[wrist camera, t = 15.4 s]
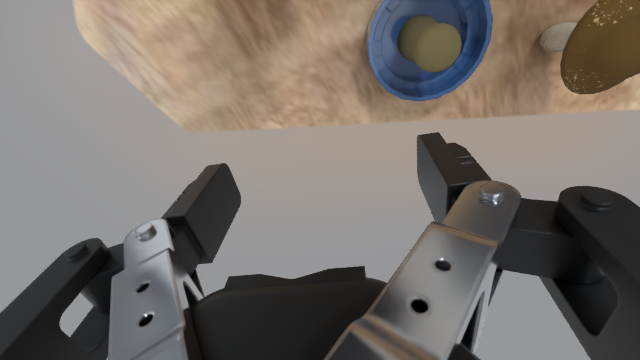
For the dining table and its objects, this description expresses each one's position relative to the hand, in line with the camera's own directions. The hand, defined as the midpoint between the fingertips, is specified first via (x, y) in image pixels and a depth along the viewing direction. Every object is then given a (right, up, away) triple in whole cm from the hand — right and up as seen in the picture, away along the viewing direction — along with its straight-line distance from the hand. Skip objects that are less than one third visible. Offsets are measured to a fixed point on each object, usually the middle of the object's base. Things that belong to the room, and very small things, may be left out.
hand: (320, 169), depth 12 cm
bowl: (+14, +20, +29) cm, 38 cm away
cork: (+14, +20, +29) cm, 38 cm away
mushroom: (+32, +20, +28) cm, 47 cm away
